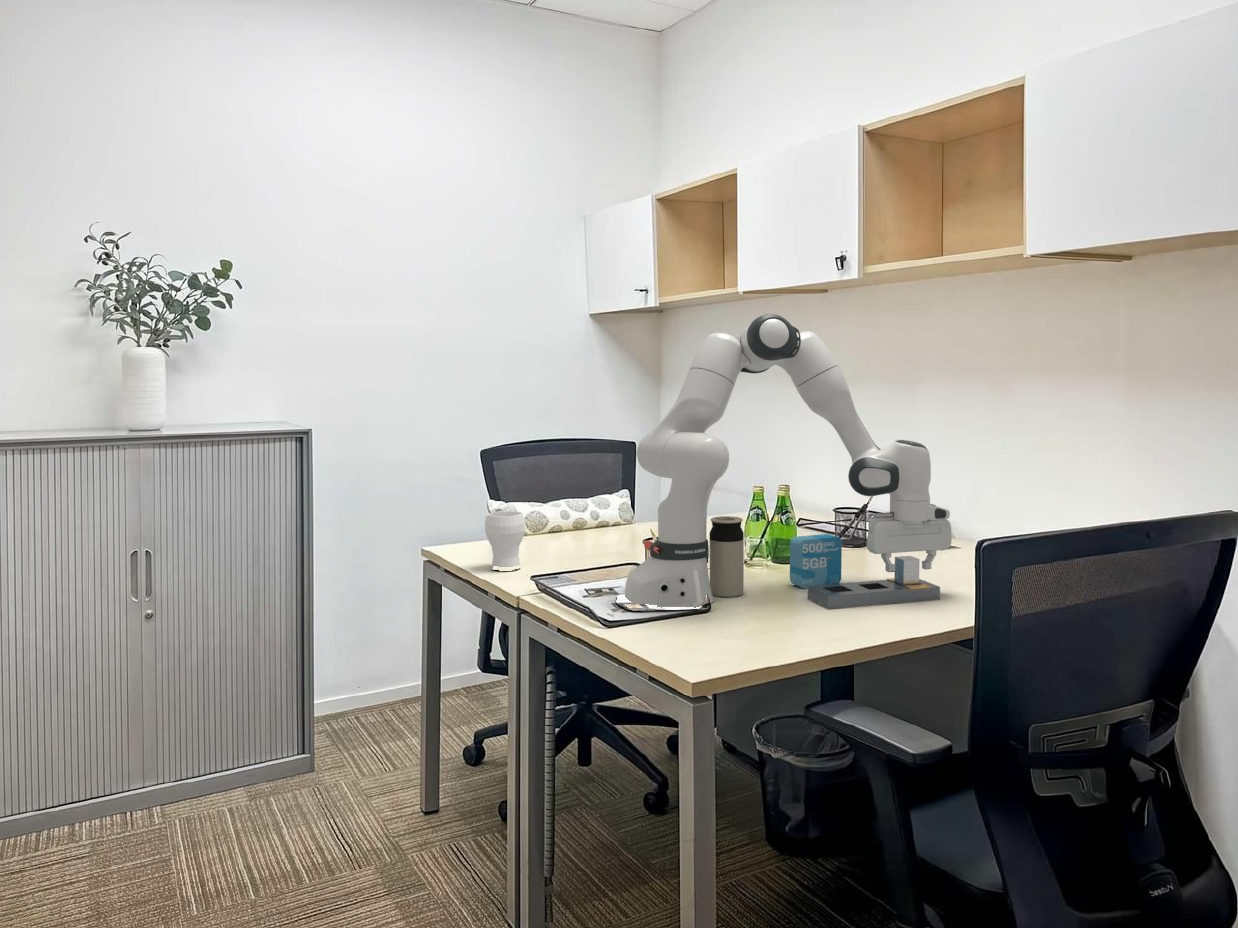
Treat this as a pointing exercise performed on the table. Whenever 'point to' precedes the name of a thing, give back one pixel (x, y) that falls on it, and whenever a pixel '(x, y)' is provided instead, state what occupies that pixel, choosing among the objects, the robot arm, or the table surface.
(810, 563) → the data package
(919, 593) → the hole rail
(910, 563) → the steel peg
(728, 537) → the travel mug
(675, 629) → the table surface
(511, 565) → the cup
